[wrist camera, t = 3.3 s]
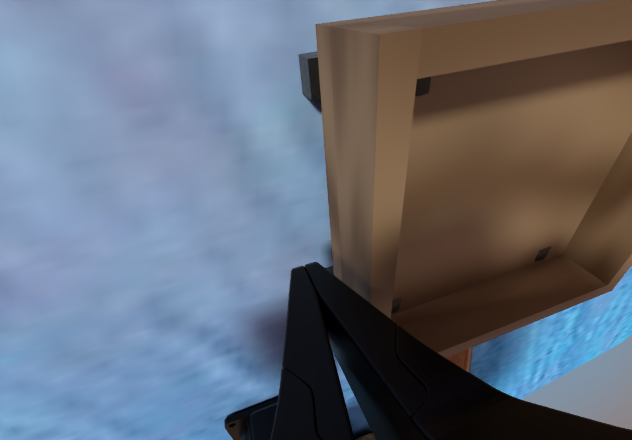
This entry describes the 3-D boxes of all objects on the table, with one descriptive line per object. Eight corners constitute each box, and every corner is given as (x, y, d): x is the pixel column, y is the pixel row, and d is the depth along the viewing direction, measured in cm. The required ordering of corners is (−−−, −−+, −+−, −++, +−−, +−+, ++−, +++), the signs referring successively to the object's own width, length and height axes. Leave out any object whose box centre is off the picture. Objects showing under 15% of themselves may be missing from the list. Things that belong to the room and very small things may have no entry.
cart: (541, 242, 19) (611, 290, 16) (332, 313, 16) (366, 389, 13) (673, -25, 11) (869, -37, 8) (307, 23, 8) (379, 34, 5)
